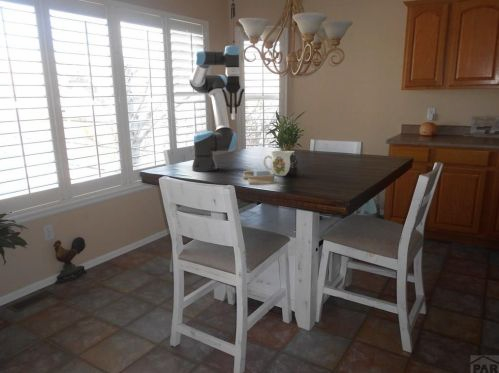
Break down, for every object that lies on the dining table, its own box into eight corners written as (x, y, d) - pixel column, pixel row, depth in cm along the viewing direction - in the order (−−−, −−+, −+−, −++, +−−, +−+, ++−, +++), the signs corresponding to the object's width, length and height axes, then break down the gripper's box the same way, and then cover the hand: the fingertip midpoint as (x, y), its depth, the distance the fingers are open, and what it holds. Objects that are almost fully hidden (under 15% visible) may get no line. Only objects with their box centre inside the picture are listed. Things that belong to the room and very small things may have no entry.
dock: (243, 178, 221) (243, 171, 220) (266, 177, 224) (266, 170, 223) (249, 184, 206) (249, 176, 205) (274, 182, 209) (274, 175, 208)
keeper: (253, 179, 218) (253, 169, 216) (265, 179, 219) (265, 168, 218) (256, 182, 211) (256, 171, 210) (269, 181, 213) (269, 170, 211)
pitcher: (265, 172, 237) (265, 149, 234) (295, 173, 233) (295, 150, 229) (261, 176, 226) (261, 152, 223) (293, 177, 222) (293, 152, 219)
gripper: (221, 75, 211) (222, 120, 217) (245, 75, 214) (246, 119, 220) (219, 76, 218) (220, 119, 224) (242, 75, 221) (243, 118, 227)
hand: (233, 119), depth 222 cm, fingers closed
